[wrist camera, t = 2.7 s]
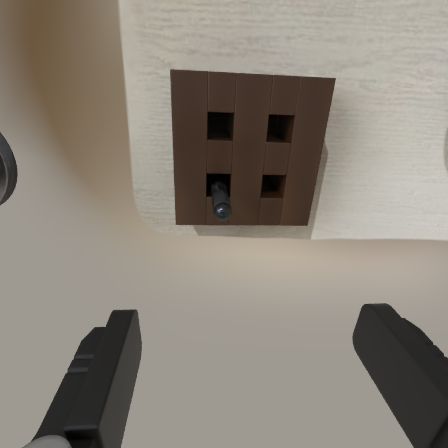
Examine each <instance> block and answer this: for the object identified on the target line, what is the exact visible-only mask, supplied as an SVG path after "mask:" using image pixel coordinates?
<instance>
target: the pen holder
mask: <svg viewBox="0 0 448 448" xmlns="http://www.w3.org/2000/svg"><path fill="white" fill-rule="evenodd" d="M170 78H171V105H172V131H173V158H174V185H175V212H176V225H290V226H307V225H308V220H309V215H310V210H311V205H312V199H313V194H314V189H315V184H316V179H317V173H318V168H319V163H320V158H321V153H322V147H323V142H324V137H325V132H326V127H327V121H328V116H329V111H330V106H331V100H332V95H333V90H334V85H335V80H336V78H322V77H303V76H301V77H300V76H284V75H266V74H247V73H229V72H210V71H209V72H208V71H191V70H173V69H171V70H170ZM208 112H222V113H228V133H221V132H207V117H208ZM269 114H270V115H278V116H277V125H276V133H275V134H267V129H268V120H269ZM207 173H210V174H226V177H225V184H226V188H227V192H228V197H229V201H230V205H231V209H232V214H231V216H230V217H229V218H228V219H227V220H224V221H220V220H218V219H216V218H215V217H214V214H213V207H212V194H211V181H210V180H207ZM263 175H271V176H270V181H262V177H263Z"/></svg>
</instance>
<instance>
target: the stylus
mask: <svg viewBox="0 0 448 448" xmlns="http://www.w3.org/2000/svg"><path fill="white" fill-rule="evenodd" d="M210 181H211V194H212V207H213V214H214V217H215V218H216V219H218V220H220V221H224V220H227V219H228V218H229V217H230V216H231V214H232V209H231V205H230V201H229V197H228V192H227V188H226V184H225V180H224V176H223V174H210Z"/></svg>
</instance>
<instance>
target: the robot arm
mask: <svg viewBox="0 0 448 448" xmlns="http://www.w3.org/2000/svg"><path fill="white" fill-rule="evenodd" d="M353 345H354V348H355V351H356V353H357V355H358V356H359V358H360V360H361V361H362V363H363V365H364V366H365V368H366V370H367V371H368V373H369V375H370V376H371V378H372V379H373V381H374V383H375V384H376V386H377V388H378V389H379V391H380V393H381V394H382V396H383V398H384V399H385V401H386V403H387V404H388V406H389V407H390V409H391V411H392V412H393V414H394V416H395V417H396V419H397V421H398V422H399V424H400V426H401V427H402V428H403V430H404V432H405V434H406V436H407V437H408V439H409V440H410V442H411V444H412V445H413V447H414V448H448V358H447V357H444V354H443V353H442V352H441V351H440V349H439V348H438V347H437V346H436V345H433V342H432V341H431V340H430V339H429V338H428V337H427V336H426V335H425V333H424V332H423V331H421V329H420V328H418V327H417V326H415V325H414V324H412V323H411V322H409V321H408V320H406V319H405V318H401V317H400V315H399V314H398V313H397V312H396V311H395V310H394V309H393V308H392V307H391V306H390V305H388V304H386V303H383V304H364V305H363V306H362V308H361V311H360V314H359V318H358V321H357V323H356V326H355V329H354V333H353ZM141 351H142V341H141V334H140V327H139V319H138V312H137V310H113V311H112V313H111V315H110V317H109V320H108V322H107V325H106V327H95V328H94V329H93V330H92V331H91V332H90V333H89V334H88V335H87V336H86V337H85V338H84V339H83V340H82V341H81V343H80V345H79V347H78V350H77V352H76V354H75V356H74V360H72V362H71V364H70V366H69V368H68V372H67V373H66V374H65V376H64V378H63V380H62V382H61V385H60V387H59V389H58V391H57V393H56V395H55V397H54V399H53V401H52V403H51V405H50V407H49V410H48V411H47V414H46V416H45V418H44V420H43V422H42V424H41V426H40V428H39V430H38V432H37V434H36V435H35V437H34V438H33V439H32V441H31V442H30V443H28V444H27V445H25V446H24V447H23V448H121V443H122V439H123V435H124V431H125V426H126V421H127V417H128V413H129V409H130V404H131V399H132V395H133V391H134V386H135V382H136V378H137V373H138V369H139V364H140V360H141Z"/></svg>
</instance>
